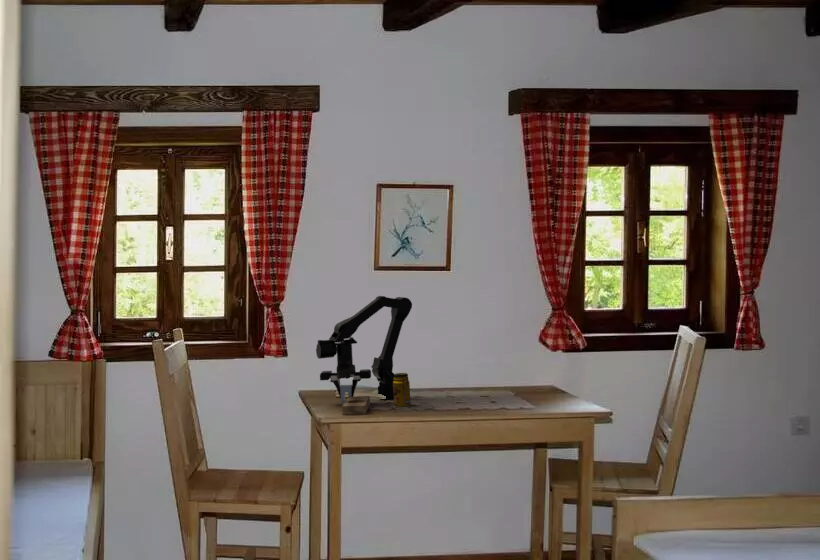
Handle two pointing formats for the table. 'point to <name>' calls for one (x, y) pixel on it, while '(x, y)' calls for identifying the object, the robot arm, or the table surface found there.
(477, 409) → the table surface
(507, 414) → the table surface
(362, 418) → the table surface
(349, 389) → the clip
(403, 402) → the condiment
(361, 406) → the brown slotted block
